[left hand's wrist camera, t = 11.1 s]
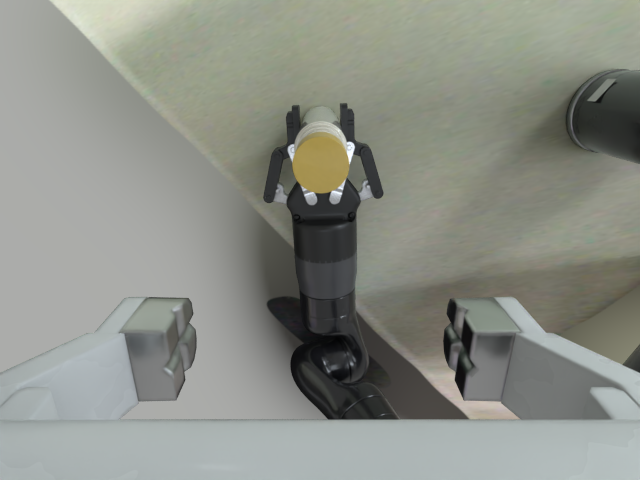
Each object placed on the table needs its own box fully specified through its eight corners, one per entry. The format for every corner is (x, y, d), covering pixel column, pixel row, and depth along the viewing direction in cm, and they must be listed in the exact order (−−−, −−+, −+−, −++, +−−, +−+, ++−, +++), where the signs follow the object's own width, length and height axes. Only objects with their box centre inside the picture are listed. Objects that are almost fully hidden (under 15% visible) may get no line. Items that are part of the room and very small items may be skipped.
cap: (303, 124, 29) (302, 128, 27) (354, 141, 30) (357, 147, 28) (288, 174, 31) (285, 183, 28) (336, 190, 31) (338, 200, 29)
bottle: (308, 100, 49) (299, 122, 27) (344, 113, 50) (362, 143, 28) (297, 136, 51) (280, 184, 29) (331, 148, 51) (340, 203, 29)
